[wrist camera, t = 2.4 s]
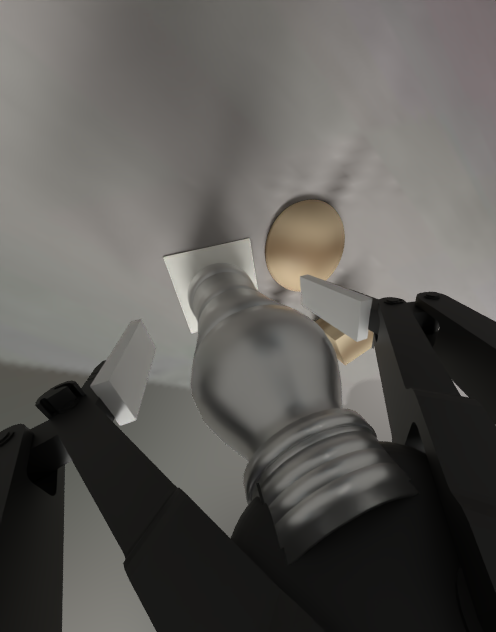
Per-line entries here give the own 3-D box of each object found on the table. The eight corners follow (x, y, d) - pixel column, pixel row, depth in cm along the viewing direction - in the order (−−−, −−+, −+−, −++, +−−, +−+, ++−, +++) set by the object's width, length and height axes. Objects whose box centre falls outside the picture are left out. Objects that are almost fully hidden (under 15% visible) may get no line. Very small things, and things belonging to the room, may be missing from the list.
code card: (163, 256, 19) (163, 257, 19) (249, 238, 20) (249, 238, 20) (191, 333, 23) (191, 333, 23) (261, 312, 24) (261, 312, 24)
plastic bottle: (177, 270, 20) (82, 620, 2) (239, 250, 20) (540, 375, 3) (200, 322, 23) (241, 648, 5) (253, 303, 23) (445, 522, 6)
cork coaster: (259, 209, 19) (260, 208, 19) (343, 193, 21) (347, 192, 21) (270, 298, 24) (272, 300, 23) (339, 279, 26) (342, 280, 25)
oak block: (312, 323, 28) (335, 340, 23) (340, 303, 28) (369, 317, 23) (322, 345, 30) (345, 365, 26) (348, 327, 30) (376, 344, 26)
